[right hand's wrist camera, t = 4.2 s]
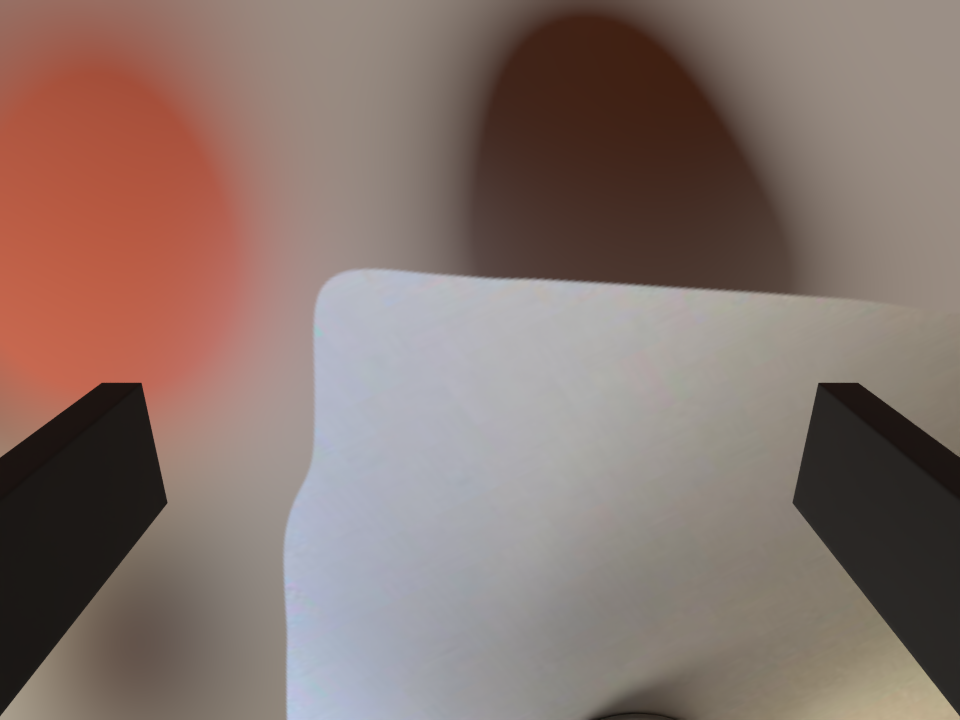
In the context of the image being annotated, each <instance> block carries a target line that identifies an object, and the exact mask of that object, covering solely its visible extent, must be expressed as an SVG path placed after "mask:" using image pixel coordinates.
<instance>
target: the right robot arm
mask: <svg viewBox="0 0 960 720" xmlns="http://www.w3.org/2000/svg"><path fill="white" fill-rule="evenodd" d="M166 504H167V499H166V494H165V490H164V485H163V480H162V476H161V471H160V466H159V462H158V457H157V453H156V448H155V443H154V439H153V434H152V429H151V425H150V420H149V415H148V411H147V406H146V402H145V397H144V392H143V388H142V383H101V384H100V385H99V386H97V387H96V388H94V389H93V390H92V391H90V392H89V393H88V394H86V395H85V396H83V397H82V398H81V399H79V400H78V401H77V402H75V403H74V404H73V405H71V406H70V407H69V408H67V409H66V410H64V411H63V412H62V413H60V414H59V415H58V416H56V417H55V418H54V419H52V420H51V421H49V422H48V423H47V424H45V425H44V426H43V427H41V428H40V429H39V430H37V431H36V432H34V433H33V434H32V435H30V436H29V437H28V438H26V439H25V440H24V441H22V442H21V443H20V444H18V445H17V446H15V447H14V448H13V449H11V450H10V451H9V452H7V453H6V454H5V455H3V456H2V457H1V458H0V716H1V714H2V713H3V712H4V711H5V709H6V708H7V707H8V705H9V704H10V703H11V702H12V700H13V699H14V698H15V697H16V695H17V694H18V693H19V691H20V690H21V689H22V688H23V686H24V685H25V684H26V683H27V681H28V680H29V679H30V677H31V676H32V675H33V674H34V672H35V671H36V670H37V669H38V667H39V666H40V665H41V663H42V662H43V661H44V660H45V658H46V657H47V656H48V655H49V653H50V652H51V651H52V649H53V648H54V647H55V646H56V644H57V643H58V642H59V641H60V639H61V638H62V637H63V635H64V634H65V633H66V632H67V630H68V629H69V628H70V626H71V625H72V624H73V623H74V621H75V620H76V619H77V618H78V616H79V615H80V614H81V612H82V611H83V610H84V609H85V607H86V606H87V605H88V603H89V602H90V601H91V600H92V598H93V597H94V596H95V595H96V593H97V592H98V591H99V589H100V588H101V587H102V586H103V584H104V583H105V582H106V581H107V579H108V578H109V577H110V576H111V574H112V573H113V572H114V570H115V569H116V568H117V567H118V565H119V564H120V563H121V561H122V560H123V559H124V558H125V556H126V555H127V554H128V553H129V551H130V550H131V549H132V547H133V546H134V545H135V544H136V542H137V541H138V540H139V539H140V537H141V536H142V535H143V533H144V532H145V531H146V530H147V528H148V527H149V526H150V525H151V523H152V522H153V521H154V519H155V518H156V517H157V516H158V514H159V513H160V512H161V511H162V509H163V508H164V507H165V505H166ZM793 504H794V505H795V507H796V508H797V509H798V511H799V512H800V513H801V514H802V516H803V517H804V518H805V519H806V521H807V522H808V523H809V525H810V526H811V527H812V528H813V530H814V531H815V532H816V533H817V535H818V536H819V537H820V539H821V540H822V541H823V542H824V544H825V545H826V546H827V548H828V549H829V550H830V551H831V553H832V554H833V555H834V556H835V558H836V559H837V560H838V562H839V563H840V564H841V565H842V567H843V568H844V569H845V570H846V572H847V573H848V574H849V576H850V577H851V578H852V579H853V581H854V582H855V583H856V584H857V586H858V587H859V588H860V590H861V591H862V592H863V593H864V595H865V596H866V597H867V598H868V600H869V601H870V602H871V604H872V605H873V606H874V607H875V609H876V610H877V611H878V612H879V614H880V615H881V616H882V618H883V619H884V620H885V621H886V623H887V624H888V625H889V626H890V628H891V629H892V630H893V632H894V633H895V634H896V635H897V637H898V638H899V639H900V641H901V642H902V643H903V644H904V646H905V647H906V648H907V649H908V651H909V652H910V653H911V655H912V656H913V657H914V658H915V660H916V661H917V662H918V663H919V665H920V666H921V667H922V669H923V670H924V671H925V672H926V674H927V675H928V676H929V677H930V679H931V680H932V681H933V683H934V684H935V685H936V686H937V688H938V689H939V690H940V691H941V693H942V694H943V695H944V697H945V698H946V699H947V700H948V702H949V703H950V704H951V705H952V707H953V708H954V709H955V711H956V712H957V713H958V714H959V716H960V457H958V456H957V455H955V454H954V453H953V452H951V451H950V450H949V449H947V448H946V447H945V446H943V445H942V444H940V443H939V442H938V441H936V440H935V439H934V438H932V437H931V436H930V435H928V434H927V433H926V432H924V431H923V430H921V429H920V428H919V427H917V426H916V425H915V424H913V423H912V422H911V421H909V420H908V419H906V418H905V417H904V416H902V415H901V414H900V413H898V412H897V411H896V410H894V409H893V408H892V407H890V406H889V405H887V404H886V403H885V402H883V401H882V400H881V399H879V398H878V397H877V396H875V395H874V394H873V393H871V392H870V391H868V390H867V389H866V388H864V387H863V386H862V385H860V384H859V383H818V388H817V392H816V397H815V402H814V406H813V411H812V415H811V420H810V425H809V429H808V434H807V439H806V443H805V448H804V452H803V457H802V462H801V466H800V471H799V476H798V480H797V485H796V489H795V494H794V499H793ZM600 720H673V719H670V718H667V717H663V716H657V715H650V714H625V715H617V716H612V717H608V718H604V719H600Z"/></svg>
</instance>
